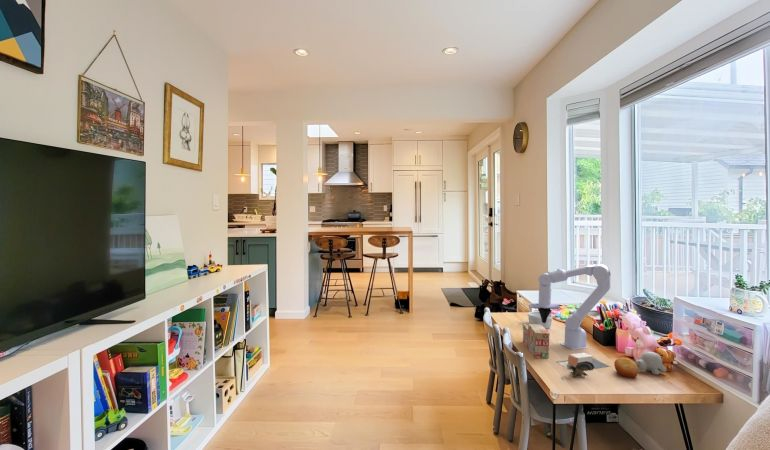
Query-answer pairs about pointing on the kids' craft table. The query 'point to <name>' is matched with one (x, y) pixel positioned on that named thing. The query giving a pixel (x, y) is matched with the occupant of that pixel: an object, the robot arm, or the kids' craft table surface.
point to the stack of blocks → (536, 340)
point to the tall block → (579, 358)
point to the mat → (595, 362)
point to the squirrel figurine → (580, 368)
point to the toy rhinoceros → (650, 363)
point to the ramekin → (539, 319)
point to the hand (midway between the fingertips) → (543, 322)
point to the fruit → (626, 367)
